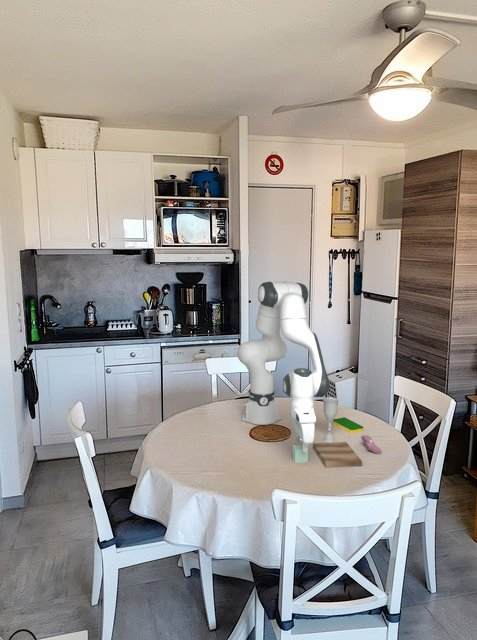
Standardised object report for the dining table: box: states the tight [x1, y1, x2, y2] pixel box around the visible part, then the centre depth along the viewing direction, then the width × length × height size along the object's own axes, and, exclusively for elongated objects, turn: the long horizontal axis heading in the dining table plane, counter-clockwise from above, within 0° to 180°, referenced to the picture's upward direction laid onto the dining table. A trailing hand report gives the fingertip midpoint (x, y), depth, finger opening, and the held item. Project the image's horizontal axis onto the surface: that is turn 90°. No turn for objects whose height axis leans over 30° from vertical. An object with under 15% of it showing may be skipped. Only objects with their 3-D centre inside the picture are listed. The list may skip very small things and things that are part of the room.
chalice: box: [322, 396, 340, 443], centre depth 204 cm, size 7×7×18 cm
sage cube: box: [291, 444, 309, 463], centre depth 187 cm, size 5×5×5 cm
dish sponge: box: [332, 416, 364, 434], centre depth 221 cm, size 7×14×2 cm, turn 26°
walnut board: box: [312, 441, 363, 469], centre depth 190 cm, size 18×14×2 cm
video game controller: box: [360, 434, 382, 455], centre depth 196 cm, size 10×5×7 cm, turn 5°
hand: (301, 445), depth 186 cm, fingers open, 8 cm apart
